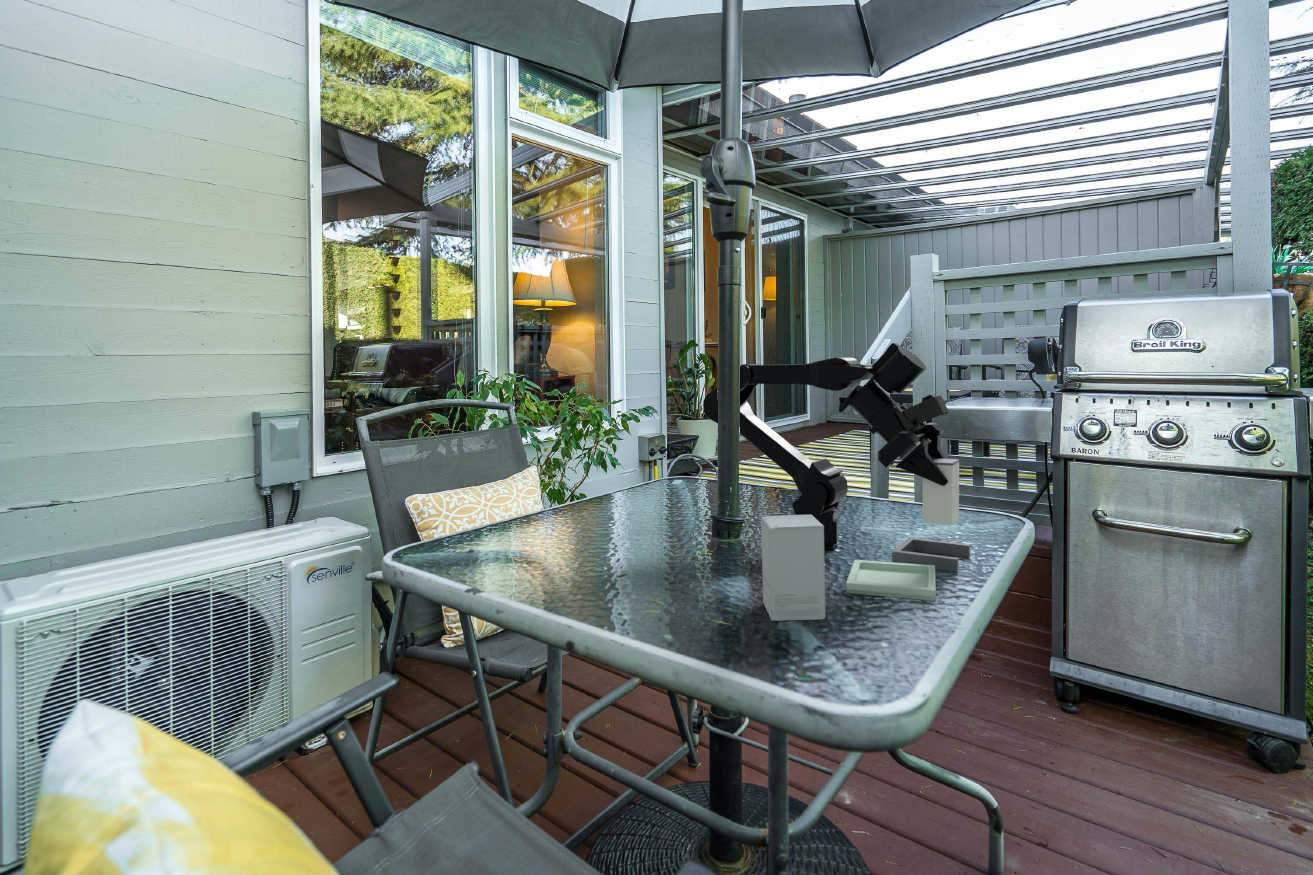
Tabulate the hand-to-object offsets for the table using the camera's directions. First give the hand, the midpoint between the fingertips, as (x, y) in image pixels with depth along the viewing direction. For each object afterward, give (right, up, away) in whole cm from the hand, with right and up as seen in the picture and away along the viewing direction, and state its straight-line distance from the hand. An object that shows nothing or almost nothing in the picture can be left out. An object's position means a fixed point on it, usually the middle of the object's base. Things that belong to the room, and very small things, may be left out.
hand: (950, 481), depth 107 cm
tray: (-12, -15, -7) cm, 21 cm away
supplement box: (-29, -17, -17) cm, 37 cm away
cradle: (-2, -13, +4) cm, 14 cm away
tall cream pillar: (-1, -7, +2) cm, 7 cm away
